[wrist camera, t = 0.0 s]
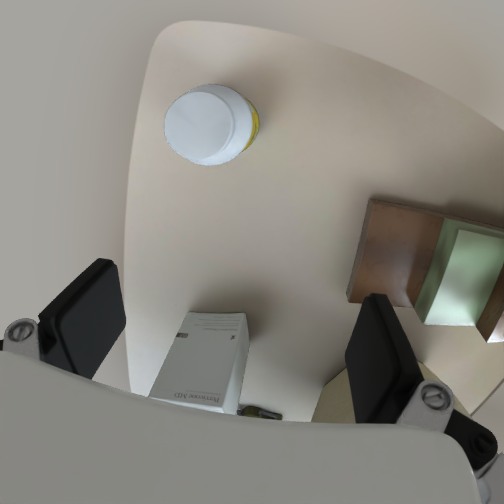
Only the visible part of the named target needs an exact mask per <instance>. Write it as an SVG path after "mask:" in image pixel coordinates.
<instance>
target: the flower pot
mask: <svg viewBox="0 0 504 504" xmlns="http://www.w3.org/2000/svg"><path fill="white" fill-rule="evenodd" d="M417 362H418V361H417ZM418 364H419V367H420V369H421V372H422V374H423V377H424V379H425V380H430V379H432V380H438V381H440V382H442V381H441V380H440V379H439V378H438V377H437V376H436V375H435V374H433V373H432V372H431V371H430V370H429V369H428V368H427V367H426V366H425V365H423V364H422V363H420V362H418ZM454 397H455V395H454ZM454 409H456V410H457V411H459V412H460V413H462V414H464V415H465V416H467V417H469V418H470V419H472V418H471V416H470V415H469V413H468V412H467V411H466V409H465V408H464V407H463V405H462V404H461V403H460V401H459V400H458V399H457V398H456V397H455V405H454ZM472 420H473V419H472ZM311 422H314V423H342V424H356V422H355V415H354V409H353V402H352V396H351V390H350V384H349V378H348V373H347V368H345V369H344V370H343V371H342V372H341V373H339V374H338V375H337V376H336V377H335V378H334V379H332V380H331V381H330V382H329V383H327V384H326V385H325V386H324V388H323V390H322V393H321V395H320V397H319V400H318V403H317V406H316V408H315V411H314V414H313V417H312V420H311Z"/></svg>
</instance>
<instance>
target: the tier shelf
mask: <svg viewBox="0 0 504 504" xmlns="http://www.w3.org/2000/svg"><path fill="white" fill-rule="evenodd" d="M371 293H378V294H386V295H387V297H388V299H389V301H390V303H391V305H392V306H397V307H411V308H414V309H415V311H416V312H417V314H418V316H419V318H420V320H421V322H422V323H423V325H458V326H476V328H477V329H478V330H479V332H480V333H481V335H482V336H483V338H484V339H485V341H486V342H487V343H490V342H504V229H503V228H500V227H496V226H492V225H488V224H485V223H481V222H477V221H473V220H469V219H465V218H461V217H456V216H452V215H448V214H443V213H439V212H434V211H430V210H425V209H420V208H416V207H411V206H406V205H401V204H395V203H390V202H385V201H379V200H374V199H369V200H368V205H367V210H366V214H365V219H364V224H363V228H362V233H361V237H360V241H359V246H358V250H357V254H356V258H355V262H354V266H353V269H352V273H351V277H350V281H349V284H348V288H347V292H346V295H347V298H348V302H349V303H360V304H362V303H363V300H364V298H365V297H366V296H368V297H369V295H370V294H371Z"/></svg>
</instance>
